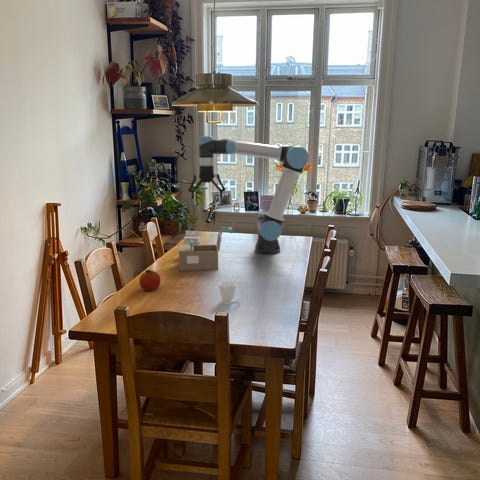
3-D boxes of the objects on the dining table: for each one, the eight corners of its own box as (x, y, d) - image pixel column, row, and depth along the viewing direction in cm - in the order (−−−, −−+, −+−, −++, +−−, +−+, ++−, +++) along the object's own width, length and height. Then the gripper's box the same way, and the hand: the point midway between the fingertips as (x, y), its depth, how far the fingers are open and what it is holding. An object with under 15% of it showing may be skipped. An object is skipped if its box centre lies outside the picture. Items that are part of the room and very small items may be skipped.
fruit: (164, 286, 217) (163, 266, 214) (156, 293, 208) (155, 272, 205) (144, 285, 219) (143, 265, 216) (136, 292, 210) (135, 271, 207)
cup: (219, 299, 201) (219, 281, 199) (242, 299, 201) (242, 281, 199) (218, 305, 195) (218, 286, 193) (242, 305, 194) (242, 286, 192)
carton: (216, 262, 256) (216, 244, 253) (218, 269, 242) (218, 251, 240) (179, 263, 253) (179, 245, 251) (179, 271, 240) (178, 252, 237)
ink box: (183, 257, 265) (183, 232, 261) (185, 255, 269) (184, 230, 266) (198, 258, 264) (198, 232, 260) (200, 255, 269) (199, 230, 265)
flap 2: (216, 244, 253) (228, 246, 254) (218, 250, 240) (231, 252, 241) (219, 225, 251) (231, 227, 252) (221, 231, 238) (234, 232, 239)
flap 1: (179, 252, 237) (178, 243, 236) (179, 245, 251) (178, 237, 249) (193, 252, 238) (193, 242, 237) (193, 245, 251) (193, 236, 250)
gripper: (228, 164, 257) (228, 202, 262) (183, 164, 254) (184, 203, 260) (230, 165, 250) (230, 204, 255) (183, 166, 247) (184, 205, 252)
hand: (207, 204), depth 257 cm, fingers open, 13 cm apart
